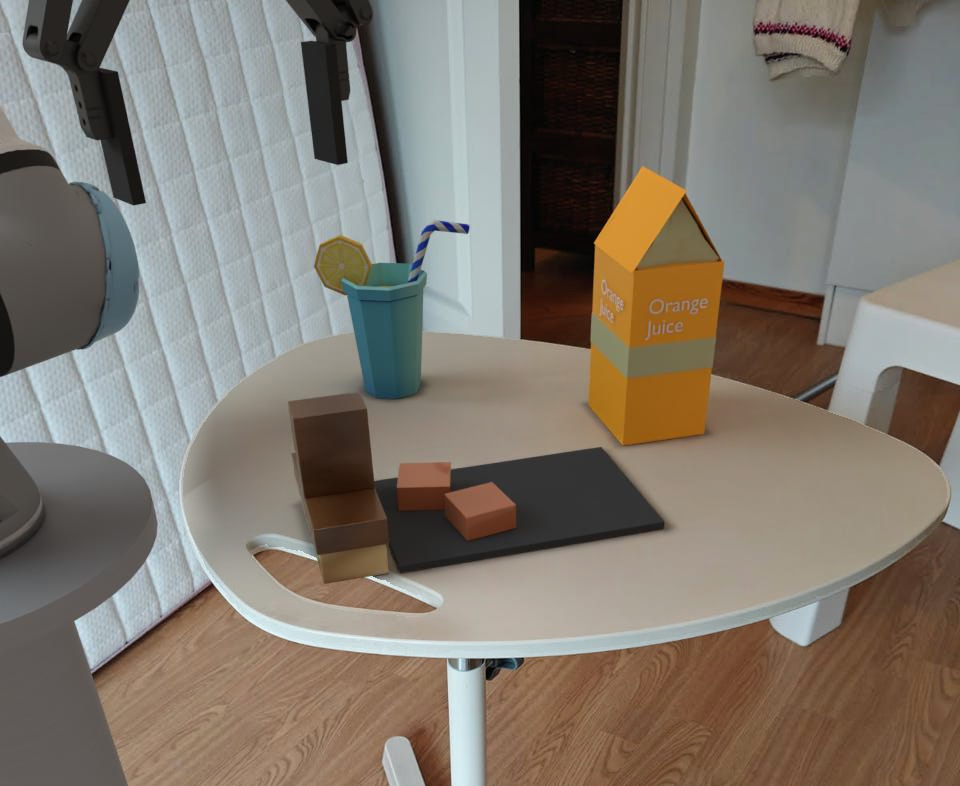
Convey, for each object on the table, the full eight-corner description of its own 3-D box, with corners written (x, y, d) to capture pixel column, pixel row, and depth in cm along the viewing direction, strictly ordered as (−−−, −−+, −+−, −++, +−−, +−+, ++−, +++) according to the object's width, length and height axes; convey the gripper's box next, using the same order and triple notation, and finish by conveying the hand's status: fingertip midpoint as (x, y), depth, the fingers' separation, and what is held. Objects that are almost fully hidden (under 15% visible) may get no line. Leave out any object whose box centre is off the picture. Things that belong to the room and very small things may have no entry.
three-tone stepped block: (321, 586, 70) (301, 447, 64) (299, 505, 79) (279, 376, 73) (392, 574, 71) (380, 436, 65) (362, 495, 80) (348, 367, 74)
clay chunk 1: (398, 511, 77) (396, 487, 76) (401, 485, 80) (399, 462, 79) (451, 509, 77) (450, 486, 76) (452, 484, 80) (450, 461, 79)
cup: (466, 364, 101) (461, 206, 92) (481, 395, 95) (477, 229, 86) (326, 378, 99) (307, 218, 90) (332, 411, 93) (312, 242, 84)
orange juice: (665, 394, 94) (686, 161, 82) (706, 434, 87) (735, 186, 75) (585, 405, 93) (595, 169, 81) (620, 446, 86) (637, 195, 74)
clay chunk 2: (467, 541, 73) (466, 517, 72) (444, 517, 76) (443, 493, 75) (516, 528, 74) (516, 504, 73) (492, 504, 77) (492, 481, 76)
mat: (399, 573, 71) (398, 566, 71) (366, 488, 81) (365, 481, 81) (664, 528, 75) (664, 521, 75) (601, 452, 85) (601, 446, 85)
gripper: (-95, -332, 40) (57, 232, 52) (414, -294, 52) (437, 154, 65) (-144, -304, 44) (6, 207, 57) (334, -275, 57) (370, 139, 70)
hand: (236, 180), depth 61 cm, fingers open, 13 cm apart
